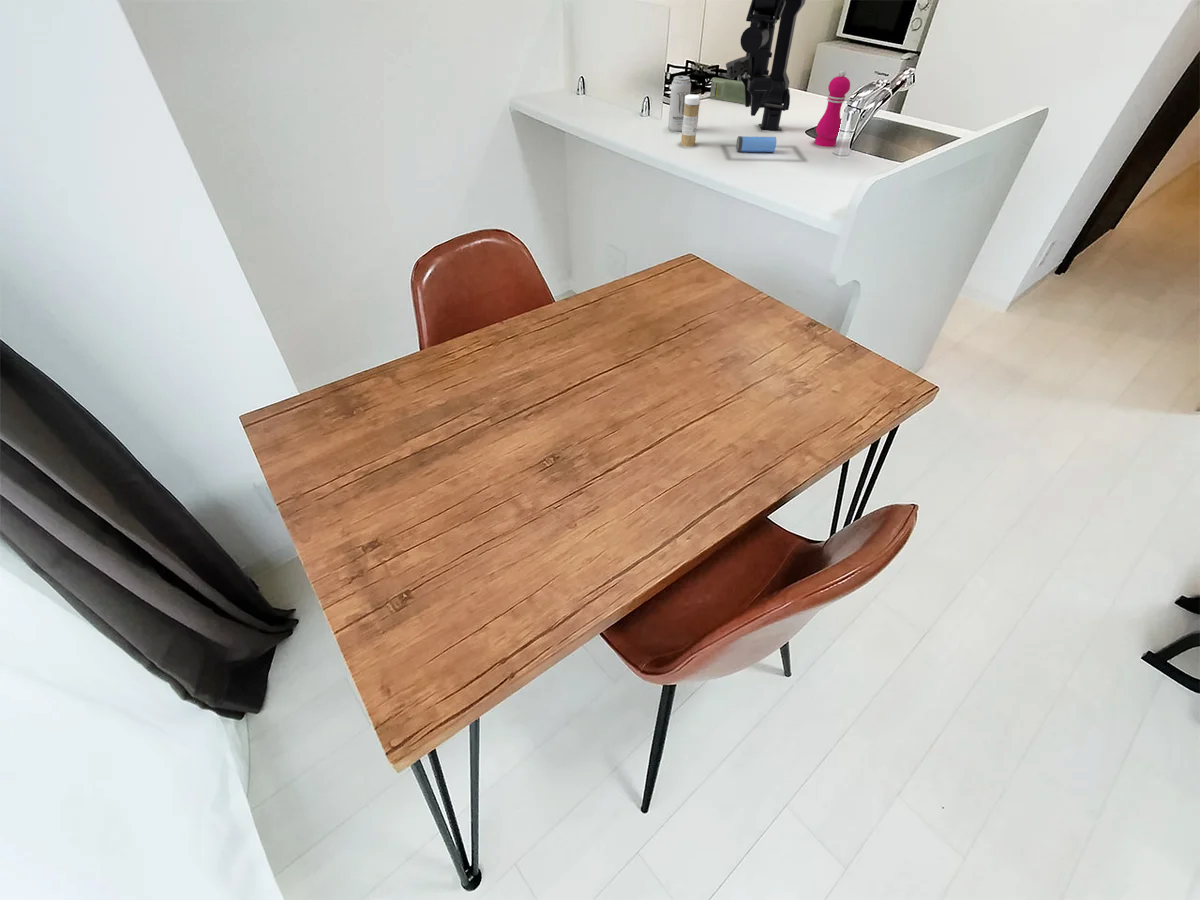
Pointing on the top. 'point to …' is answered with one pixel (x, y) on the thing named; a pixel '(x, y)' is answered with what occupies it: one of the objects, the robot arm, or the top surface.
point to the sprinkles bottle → (690, 119)
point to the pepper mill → (832, 111)
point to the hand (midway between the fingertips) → (749, 111)
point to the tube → (755, 144)
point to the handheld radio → (727, 90)
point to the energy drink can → (678, 102)
